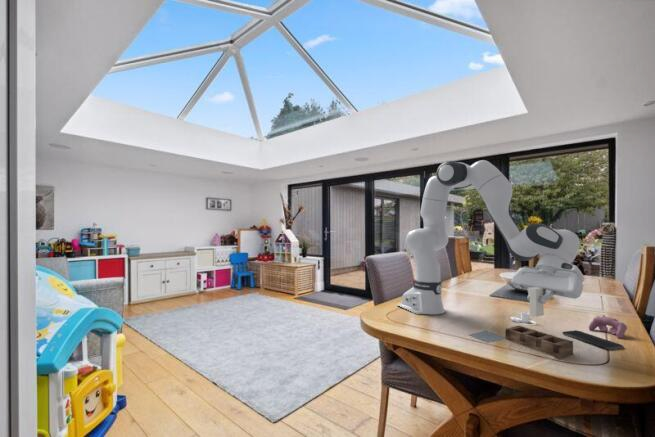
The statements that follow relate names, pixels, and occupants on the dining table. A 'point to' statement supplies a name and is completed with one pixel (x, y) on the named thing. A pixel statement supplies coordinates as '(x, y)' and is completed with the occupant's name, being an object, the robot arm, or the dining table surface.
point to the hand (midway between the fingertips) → (535, 301)
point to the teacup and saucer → (523, 319)
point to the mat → (487, 336)
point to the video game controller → (617, 325)
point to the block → (536, 302)
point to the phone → (592, 340)
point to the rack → (540, 341)
